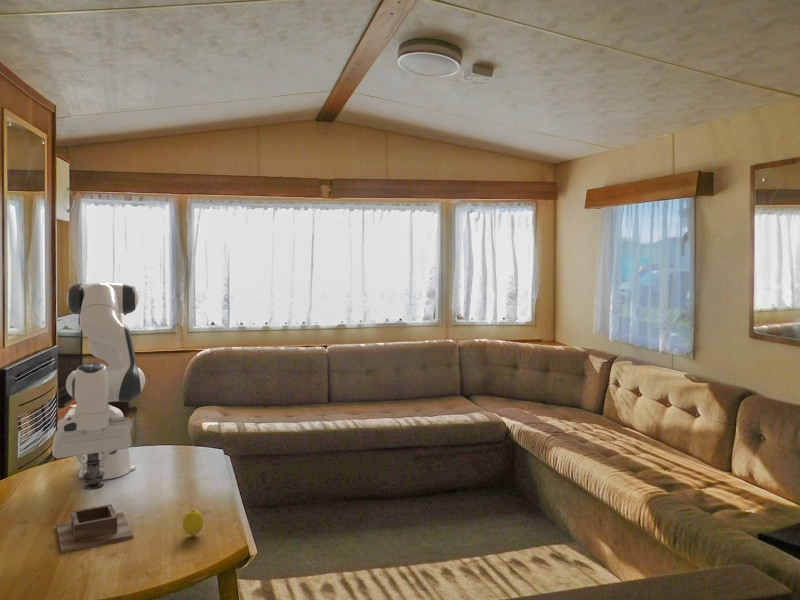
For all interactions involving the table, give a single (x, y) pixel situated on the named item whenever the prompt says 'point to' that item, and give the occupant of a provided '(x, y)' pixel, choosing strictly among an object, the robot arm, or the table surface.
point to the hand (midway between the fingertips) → (93, 467)
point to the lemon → (193, 522)
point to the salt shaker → (93, 473)
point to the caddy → (93, 528)
